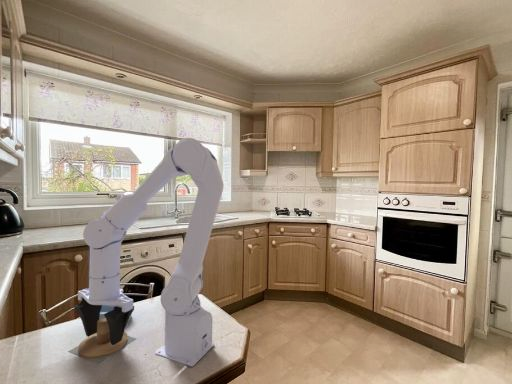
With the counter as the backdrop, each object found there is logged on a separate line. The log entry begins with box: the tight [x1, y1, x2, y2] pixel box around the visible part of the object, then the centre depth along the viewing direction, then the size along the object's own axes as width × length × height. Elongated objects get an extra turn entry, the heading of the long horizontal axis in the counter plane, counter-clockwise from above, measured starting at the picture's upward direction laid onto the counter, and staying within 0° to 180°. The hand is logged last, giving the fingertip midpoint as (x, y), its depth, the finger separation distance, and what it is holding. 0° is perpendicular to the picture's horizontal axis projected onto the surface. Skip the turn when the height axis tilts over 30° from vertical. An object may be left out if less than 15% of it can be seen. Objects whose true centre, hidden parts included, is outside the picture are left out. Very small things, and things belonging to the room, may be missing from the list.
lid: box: [78, 318, 128, 359], centre depth 55 cm, size 9×9×5 cm
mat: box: [67, 335, 137, 364], centre depth 55 cm, size 9×9×1 cm
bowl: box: [99, 305, 133, 322], centre depth 65 cm, size 9×9×4 cm
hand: (103, 338), depth 55 cm, fingers open, 7 cm apart
